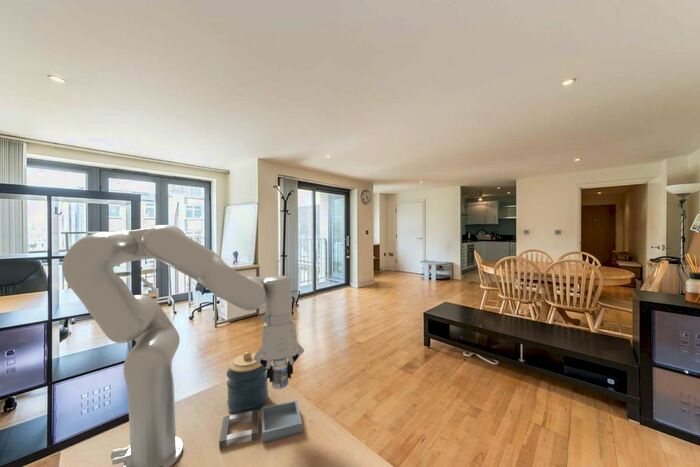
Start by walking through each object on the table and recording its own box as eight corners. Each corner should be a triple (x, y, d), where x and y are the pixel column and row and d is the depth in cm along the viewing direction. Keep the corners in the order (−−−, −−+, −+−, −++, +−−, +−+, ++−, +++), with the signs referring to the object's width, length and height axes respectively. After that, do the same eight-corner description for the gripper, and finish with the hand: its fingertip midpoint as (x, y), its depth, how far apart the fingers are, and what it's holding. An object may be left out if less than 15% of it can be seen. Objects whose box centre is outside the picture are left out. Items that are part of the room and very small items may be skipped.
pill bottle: (284, 390, 79) (283, 362, 79) (269, 389, 80) (268, 360, 80) (290, 381, 84) (290, 354, 84) (276, 379, 85) (276, 353, 85)
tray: (262, 443, 76) (262, 432, 75) (261, 417, 86) (261, 407, 86) (302, 433, 79) (302, 423, 79) (296, 409, 90) (296, 400, 89)
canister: (218, 408, 90) (217, 355, 90) (250, 387, 102) (249, 340, 101) (245, 422, 84) (244, 365, 83) (276, 398, 95) (275, 348, 95)
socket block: (219, 448, 74) (219, 441, 74) (223, 423, 83) (223, 416, 83) (258, 439, 77) (258, 432, 77) (258, 415, 87) (258, 409, 87)
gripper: (248, 326, 75) (249, 391, 76) (309, 318, 81) (310, 379, 81) (248, 317, 82) (250, 376, 83) (305, 311, 88) (306, 366, 88)
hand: (280, 377), depth 82 cm, fingers closed on pill bottle, 4 cm apart
